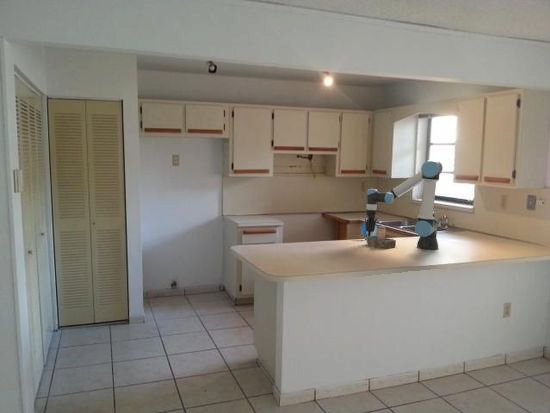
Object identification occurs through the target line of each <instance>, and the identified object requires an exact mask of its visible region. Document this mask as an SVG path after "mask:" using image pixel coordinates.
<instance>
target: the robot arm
mask: <svg viewBox="0 0 550 413" xmlns="http://www.w3.org/2000/svg"><path fill="white" fill-rule="evenodd" d="M420 169H421V170H420V171H418V172H417V173H416V174H414V175H413V176H411V177H409V178H408V179H406V180H405V181H403V182H402V183H400V184H398V185H397V186H395V187H394V188H392V189H391V190H389V191H386V192H381V191H380V192H379V191H378V189H376V188H368V189H367V191H366V192H367V193H366V208H365V209H366V210H365V215H366V218H365V219H364V221H365V223H366V231H367V232H368V236H372V232H374V230H375V224H376V222H377V220H378V218H376V215H377V207H378V203H381V204H382V203H385V204H392V203H394V201H396V200H397V199H398V198H400V197H401V196H402V195H404V194H406V193H407V192H409V191H410V190H412V189H414V188H416V187H417V186H419V185H420V184H422V183H423V184H422V191H421V192H422V193H421V201H420V211H419V215H417V218H416V223H415V226H414V230H415V231H414V232H415V233H416V234H417V235H418V236H419V238H418V241H417V243H416V247H417V248H419V249H423V250H437V249H439V242H438V237H437V236H438V234H437V233H438V224H439V223H438V218H437V217H434V216H433V213H434V208H435V207H434V206H435V205H434V204H435V199H436V198H435V197H436V190H437V188H436V187H437V182H438V181H439V180H440V174H441V173H442V171H443V164H442V163H441V162H440V161H439V160H435V159H428V160H426V161H424V162H423V163H422V165H421V167H420Z"/></svg>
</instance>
